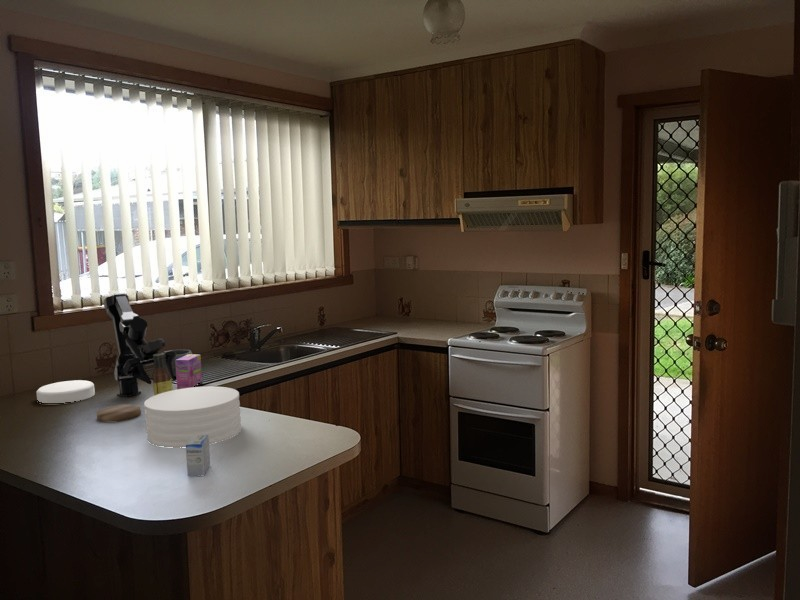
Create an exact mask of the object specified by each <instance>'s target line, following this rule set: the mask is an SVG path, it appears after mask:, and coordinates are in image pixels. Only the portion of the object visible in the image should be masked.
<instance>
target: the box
mask: <svg viewBox="0 0 800 600" xmlns="http://www.w3.org/2000/svg"><path fill="white" fill-rule="evenodd" d="M201 359H202V358H201V354H198V353H197V354H196V353H195V354H188V355H185V356H183V357H181V358H179V359H176V360H175V364H176V376H175V377H176V390H177V389H184V388H192V387H194V386H195V385H197V384H198V383H200V382H202V383H203V375H202V361H201ZM200 384H201V383H200ZM198 385H199V384H198ZM198 385H197V386H198ZM195 387H196V386H195Z"/></svg>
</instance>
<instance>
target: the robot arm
mask: <svg viewBox="0 0 800 600" xmlns="http://www.w3.org/2000/svg"><path fill="white" fill-rule="evenodd" d="M103 307H104V309H105V310H106V314H107V316H109V317H110V319H111V320H112V323H113V328H114V333H115V334H114V335H115V339H116V344H117V350H118V351H117V352H118V357H117V360H116V361H115V366H114V373H113V374H114V379H115V381H117V382H118V386H119V389H118V390H119V393H116V396H119V397H127V398H129V397H132V396H135V395H138V394H141V393H142V391H140V390H139V382H138V380H140V381H142V382H144V383H146V384H148V385H151V384H153V381H152V380H151V378H150V376H149V375H148V374H147V372H146V371H145V369H144V366H145V367H147V366H151V365H154V359H153V355H154V354H158V353H159V351H160V350H163V349H164V347H165V346H166V342H165V340H164V339H163V338H162V337H160V338H157V339H156V340H151V341H148V342H147V341H146V339H145V337H146V334H147V329H148V321H146V319H143V318H141V317H140V315H139V314H137V313H135V312H134V311H133V309H132V306H131V305H130V299H129V295H128V294H127V293H125V292H121V293H114V294H111V295H110V296H107V297H105V298H104V299H103ZM172 350H173V349H172ZM172 350H166V351H162V352H163V353H165V362H166V366H167V368H168V371H169V373H170V375H171V379H174V377H175V376H174V375H173V370H172V361H173V359H174V358H175V356H176V354H175V353H174V351H172Z"/></svg>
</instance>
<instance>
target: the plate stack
mask: <svg viewBox="0 0 800 600" xmlns="http://www.w3.org/2000/svg"><path fill="white" fill-rule="evenodd" d="M240 402H241V401H240V392H239V391H238V390H237V389H235V388H232V387H225V386H211V385H210V386H195V387H192V388H184V389H177V388H176V389H173V390H172V391H168V392H164V393H161V394H158V395H155V396H154V395H152V396H150V397H149V398H147V399H146V400H145V401H144V403H143V404H144V405H143V406H144V416H145V426H146V428H145V432H146V434H147V435H146V440H148V441H149V442H150V443H151V444H154V445H157V446H164V447H173V448H180V447H181V448H180V449H183V448H182V447H186V444H187V443H188V441H189V440H190V438H191V437H192V436H193V435H208V438H209V444H211V445H213V444H212V443H215V442H219V441H222V440H225V439H228V438H230V437H232V436H234V435H236V434H237V435H239V434H240V433H241V431H242V418H241V408H240V406H241V403H240ZM239 432H240V433H239ZM238 433H239V434H238ZM237 435H236V436H237ZM234 437H235V436H234ZM232 438H233V437H232ZM230 439H231V438H230ZM228 440H229V439H228ZM148 441H147V442H148ZM225 441H226V440H225ZM222 442H223V441H222ZM219 443H220V442H219ZM151 444H150V445H151Z"/></svg>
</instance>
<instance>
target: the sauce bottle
mask: <svg viewBox="0 0 800 600" xmlns="http://www.w3.org/2000/svg"><path fill="white" fill-rule="evenodd" d="M153 359H154V364H153V365H154V369H153V371H152V374H151V377H152V387H153V396H155V395H158V394H161V393H164V392H168V391H172V390H174V389H173V382H172V381H173V380H172V378H171V375H170V373H169V371H168V368H167V366H166V362H165V353H162V352H160V353H159V352H158V354H154V355H153Z"/></svg>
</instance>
